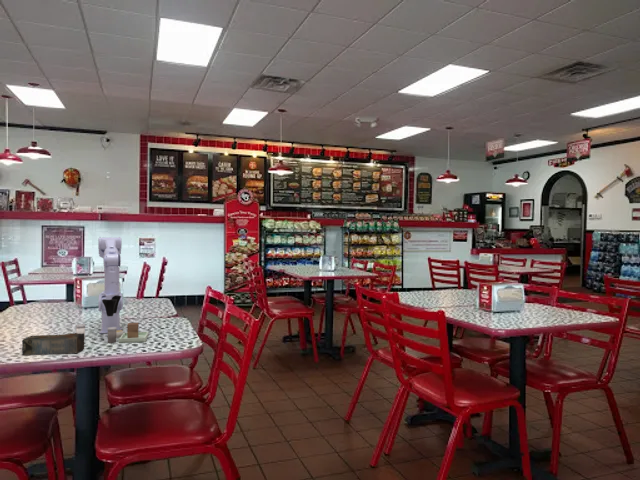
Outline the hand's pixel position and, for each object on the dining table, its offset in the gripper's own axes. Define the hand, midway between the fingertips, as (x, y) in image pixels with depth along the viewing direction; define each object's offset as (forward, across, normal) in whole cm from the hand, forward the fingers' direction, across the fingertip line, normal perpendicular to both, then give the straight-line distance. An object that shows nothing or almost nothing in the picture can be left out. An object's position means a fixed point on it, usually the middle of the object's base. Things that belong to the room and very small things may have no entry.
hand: (111, 314), depth 197 cm
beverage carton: (+10, +20, -16) cm, 28 cm away
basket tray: (+10, +4, +10) cm, 14 cm away
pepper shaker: (+10, +8, +2) cm, 13 cm away
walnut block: (+9, +4, +9) cm, 14 cm away
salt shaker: (+10, 0, -12) cm, 16 cm away
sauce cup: (+10, -2, +2) cm, 10 cm away
